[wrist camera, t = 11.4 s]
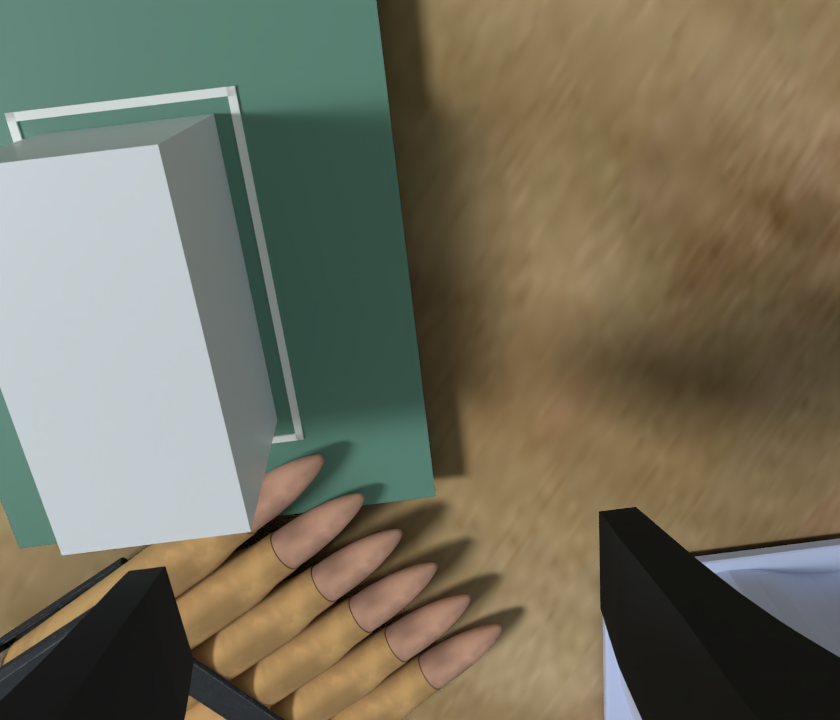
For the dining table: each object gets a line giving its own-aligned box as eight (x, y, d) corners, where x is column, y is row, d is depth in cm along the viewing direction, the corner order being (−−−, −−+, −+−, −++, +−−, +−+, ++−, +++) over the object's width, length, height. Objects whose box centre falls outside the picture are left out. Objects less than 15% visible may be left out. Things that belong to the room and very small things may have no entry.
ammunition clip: (-30, 692, 21) (300, 454, 19) (-7, 640, 23) (299, 415, 21) (237, 841, 26) (525, 664, 24) (240, 789, 28) (510, 619, 26)
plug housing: (214, 113, 17) (158, 144, 13) (277, 420, 21) (250, 531, 16) (39, 133, 17) (-79, 172, 13) (130, 438, 21) (61, 555, 16)
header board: (369, -48, 17) (369, -71, 13) (433, 477, 23) (446, 576, 19) (-162, 15, 17) (-331, 11, 13) (34, 527, 23) (-41, 638, 19)
